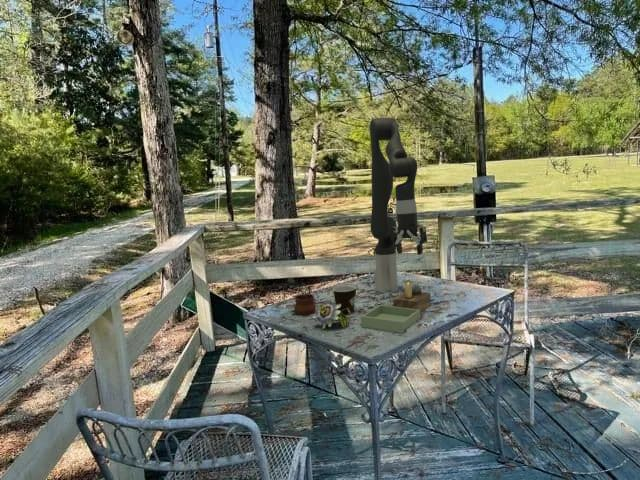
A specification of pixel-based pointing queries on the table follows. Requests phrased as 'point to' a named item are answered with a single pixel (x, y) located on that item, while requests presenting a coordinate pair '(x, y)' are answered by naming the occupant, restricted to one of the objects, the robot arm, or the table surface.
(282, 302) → the table surface
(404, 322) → the pin tray
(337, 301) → the coffee mug
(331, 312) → the passion flower
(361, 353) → the table surface
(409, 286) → the pin
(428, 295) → the block
